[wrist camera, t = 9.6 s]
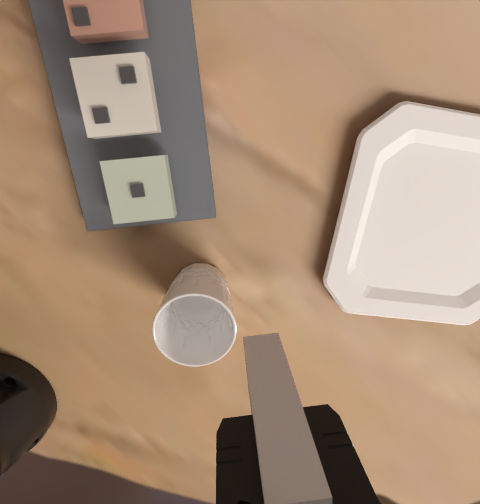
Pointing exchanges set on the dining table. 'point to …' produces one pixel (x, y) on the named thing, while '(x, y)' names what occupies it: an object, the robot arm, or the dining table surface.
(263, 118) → the dining table surface
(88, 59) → the tile two
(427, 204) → the plate
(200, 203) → the board
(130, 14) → the tile three
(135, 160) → the tile one
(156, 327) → the white cup
